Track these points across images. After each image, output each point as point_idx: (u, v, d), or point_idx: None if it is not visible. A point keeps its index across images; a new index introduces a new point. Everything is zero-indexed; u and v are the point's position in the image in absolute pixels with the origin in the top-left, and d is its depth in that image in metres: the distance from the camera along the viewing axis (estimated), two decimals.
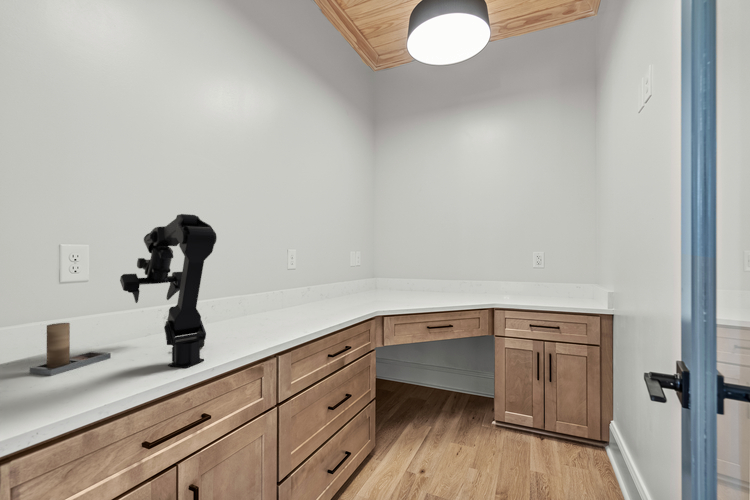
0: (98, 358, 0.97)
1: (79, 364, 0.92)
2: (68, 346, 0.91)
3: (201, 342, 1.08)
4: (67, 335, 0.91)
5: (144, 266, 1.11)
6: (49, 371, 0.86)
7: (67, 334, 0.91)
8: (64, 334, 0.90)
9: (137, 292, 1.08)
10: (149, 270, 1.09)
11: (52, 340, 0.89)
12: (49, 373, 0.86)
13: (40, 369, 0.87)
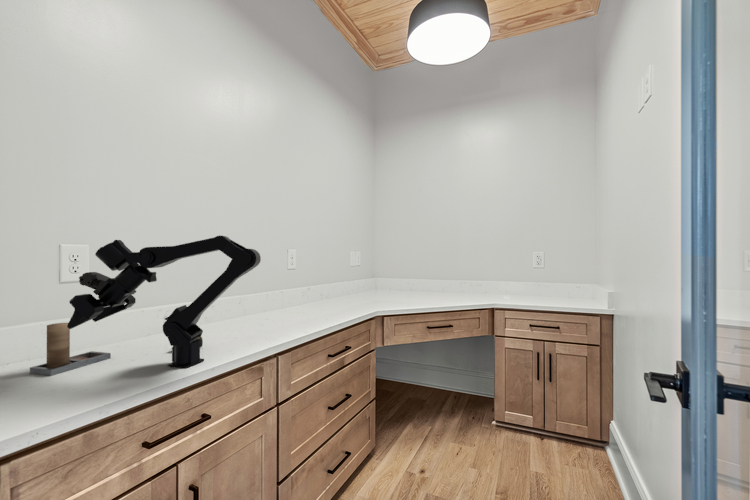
0: (98, 358, 0.97)
1: (79, 364, 0.92)
2: (68, 346, 0.91)
3: None
4: (67, 335, 0.91)
5: (96, 284, 0.89)
6: (49, 371, 0.86)
7: (67, 334, 0.91)
8: (64, 334, 0.90)
9: (93, 318, 0.87)
10: (114, 291, 0.90)
11: (52, 340, 0.89)
12: (49, 373, 0.86)
13: (40, 369, 0.87)
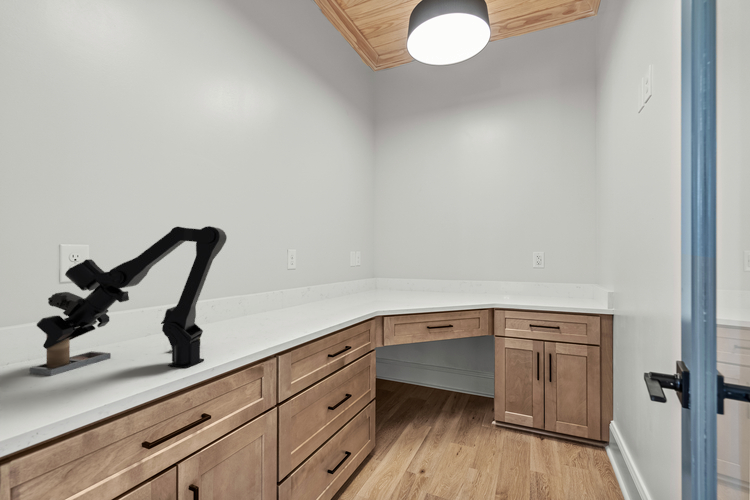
0: (98, 358, 0.97)
1: (79, 364, 0.92)
2: (67, 346, 0.91)
3: None
4: None
5: (66, 305, 0.88)
6: (49, 371, 0.86)
7: None
8: None
9: None
10: (84, 312, 0.89)
11: None
12: (49, 373, 0.86)
13: (40, 369, 0.87)
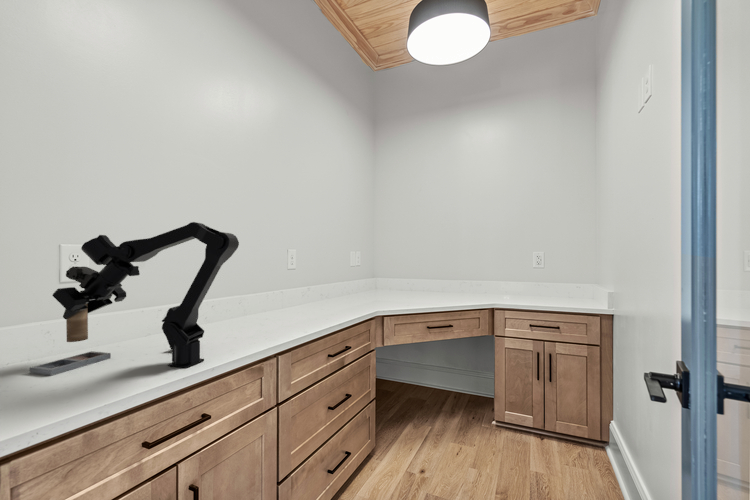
0: (98, 358, 0.97)
1: (79, 364, 0.92)
2: (85, 317, 0.95)
3: None
4: None
5: (82, 278, 0.92)
6: (49, 371, 0.86)
7: None
8: None
9: (84, 309, 0.92)
10: (97, 285, 0.92)
11: None
12: (49, 373, 0.86)
13: (40, 369, 0.87)
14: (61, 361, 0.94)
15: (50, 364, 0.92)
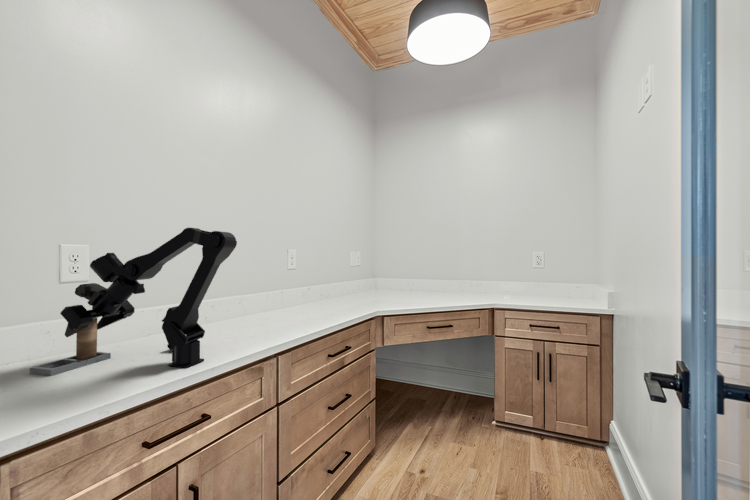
0: (98, 358, 0.97)
1: (79, 364, 0.92)
2: (94, 339, 0.97)
3: None
4: (94, 329, 0.97)
5: (90, 295, 0.94)
6: (49, 371, 0.86)
7: (94, 328, 0.97)
8: (91, 327, 0.97)
9: (84, 328, 0.91)
10: (104, 302, 0.94)
11: (80, 332, 0.95)
12: (49, 373, 0.86)
13: (40, 369, 0.87)
14: (61, 361, 0.94)
15: (50, 364, 0.92)
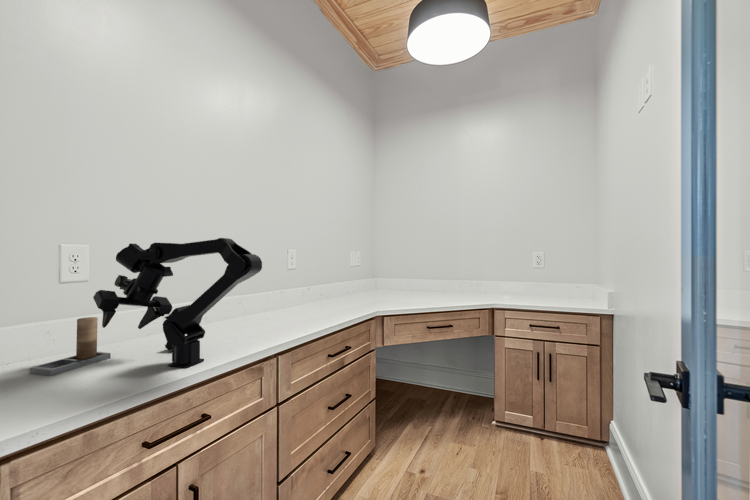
0: (98, 358, 0.97)
1: (79, 364, 0.92)
2: (94, 339, 0.97)
3: None
4: (94, 329, 0.97)
5: (125, 284, 0.96)
6: (49, 371, 0.86)
7: (94, 328, 0.97)
8: (91, 327, 0.97)
9: (112, 313, 0.91)
10: (133, 289, 0.94)
11: (80, 333, 0.95)
12: (49, 373, 0.86)
13: (40, 369, 0.87)
14: (61, 361, 0.94)
15: (50, 364, 0.92)
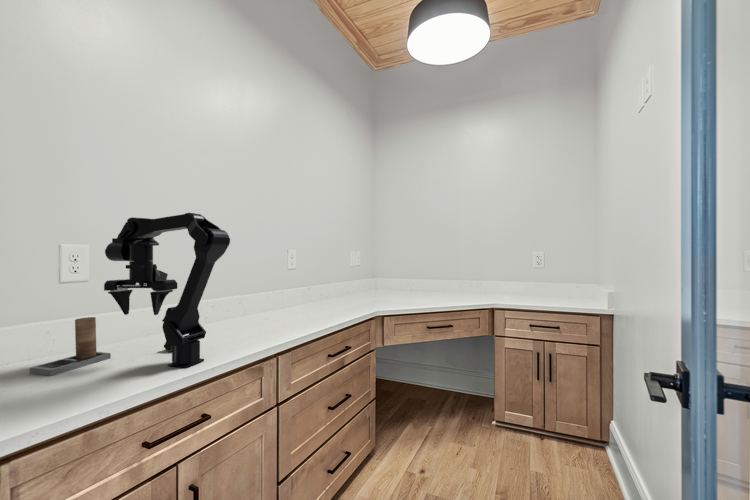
0: (98, 358, 0.97)
1: (79, 364, 0.92)
2: (93, 339, 0.97)
3: None
4: (93, 329, 0.97)
5: None
6: (49, 371, 0.86)
7: (92, 328, 0.97)
8: (89, 327, 0.96)
9: (115, 294, 0.97)
10: None
11: (79, 333, 0.95)
12: (49, 373, 0.86)
13: (40, 369, 0.87)
14: (61, 361, 0.94)
15: (50, 364, 0.92)
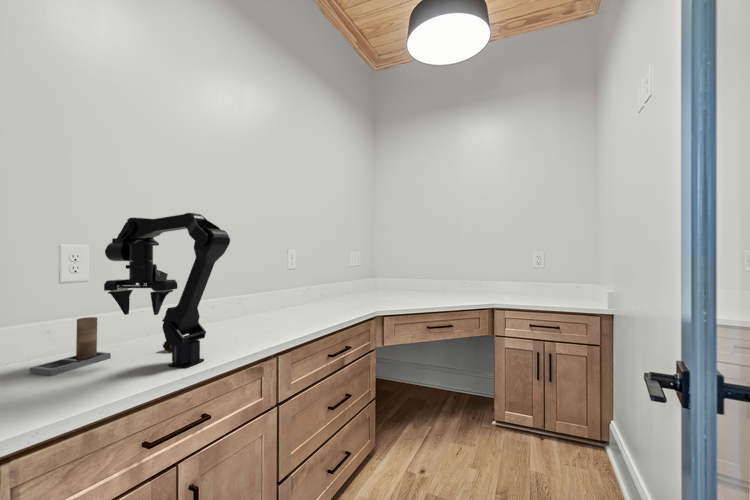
0: (98, 358, 0.97)
1: (79, 364, 0.92)
2: (94, 339, 0.97)
3: None
4: (94, 329, 0.97)
5: None
6: (49, 371, 0.86)
7: (94, 328, 0.97)
8: (91, 328, 0.96)
9: (115, 294, 0.97)
10: None
11: (80, 333, 0.95)
12: (49, 373, 0.86)
13: (40, 369, 0.87)
14: (61, 361, 0.94)
15: (50, 364, 0.92)
